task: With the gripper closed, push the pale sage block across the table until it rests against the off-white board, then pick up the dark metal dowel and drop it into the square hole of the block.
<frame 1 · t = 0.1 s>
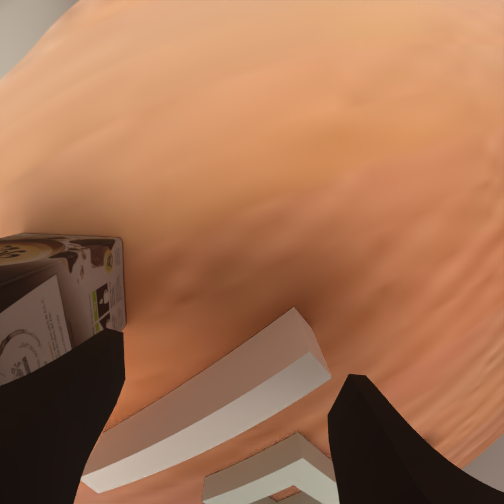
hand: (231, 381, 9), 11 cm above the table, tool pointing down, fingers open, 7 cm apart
coffee box: (69, 276, 20), on the table
socket block: (283, 482, 23), on the table
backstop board: (189, 395, 21), on the table
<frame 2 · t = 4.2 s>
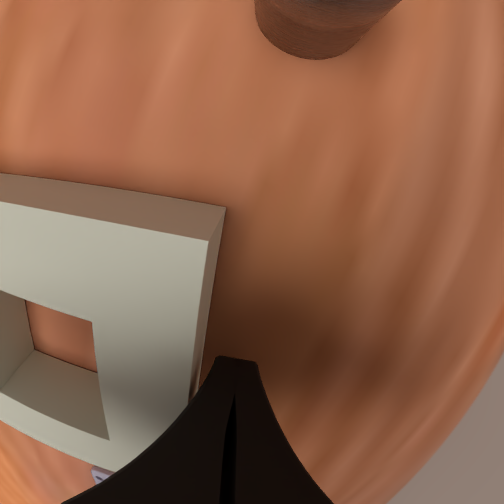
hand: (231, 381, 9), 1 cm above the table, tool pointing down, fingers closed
socket block: (73, 318, 10), on the table, touching gripper
dowel: (310, 12, 7), on the table
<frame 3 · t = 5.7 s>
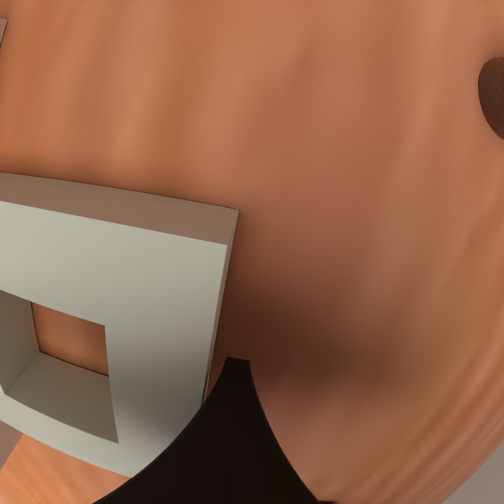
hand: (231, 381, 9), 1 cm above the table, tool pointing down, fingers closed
socket block: (80, 320, 10), on the table, touching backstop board, gripper
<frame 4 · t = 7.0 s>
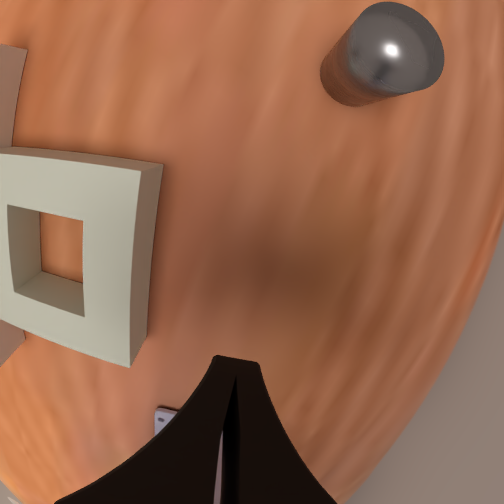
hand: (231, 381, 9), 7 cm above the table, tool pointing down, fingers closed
socket block: (72, 241, 16), on the table
dowel: (351, 76, 13), on the table
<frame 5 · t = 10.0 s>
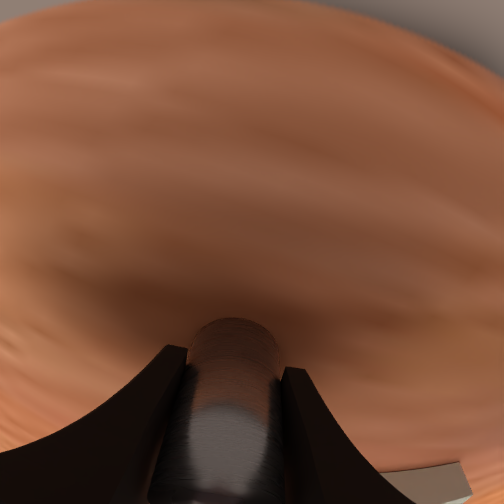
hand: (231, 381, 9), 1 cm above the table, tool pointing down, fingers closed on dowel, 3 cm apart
dowel: (235, 354, 11), on the table, touching gripper
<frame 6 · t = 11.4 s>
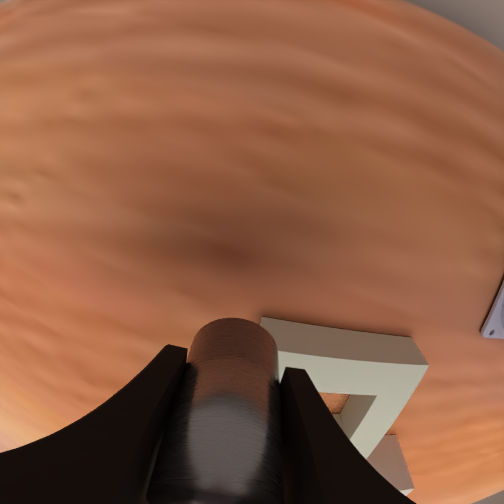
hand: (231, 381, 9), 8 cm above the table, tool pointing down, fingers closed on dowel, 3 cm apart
socket block: (318, 388, 20), on the table
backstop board: (282, 439, 22), on the table
dowel: (234, 354, 11), point 7 cm above the table, touching gripper
when the fingers open (4 cm above the table, at t = 13.2 s): dowel drops 2 cm, resting in socket block.
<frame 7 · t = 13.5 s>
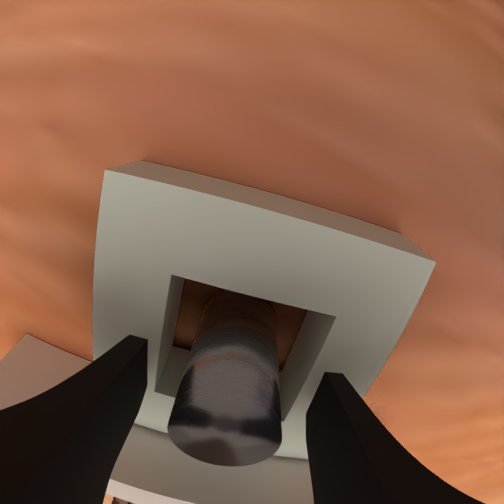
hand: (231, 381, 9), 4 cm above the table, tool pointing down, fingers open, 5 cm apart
socket block: (241, 314, 13), on the table
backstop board: (193, 407, 15), on the table
dowel: (239, 320, 13), resting in socket block
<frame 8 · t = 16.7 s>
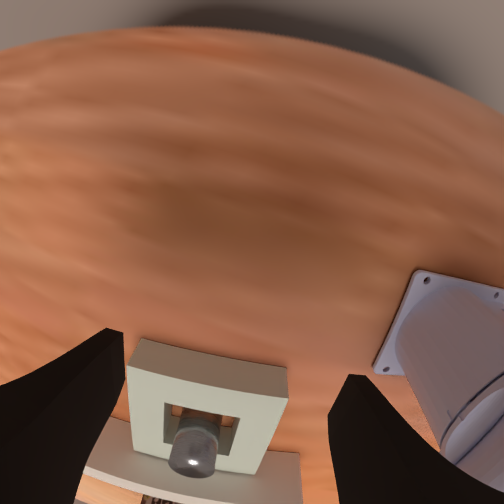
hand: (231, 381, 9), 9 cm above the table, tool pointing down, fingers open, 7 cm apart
coffee box: (190, 493, 29), on the table
socket block: (204, 403, 22), on the table
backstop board: (186, 443, 24), on the table
dowel: (204, 405, 22), resting in socket block
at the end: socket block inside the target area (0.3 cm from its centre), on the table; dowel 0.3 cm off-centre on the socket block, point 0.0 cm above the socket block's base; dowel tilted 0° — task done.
